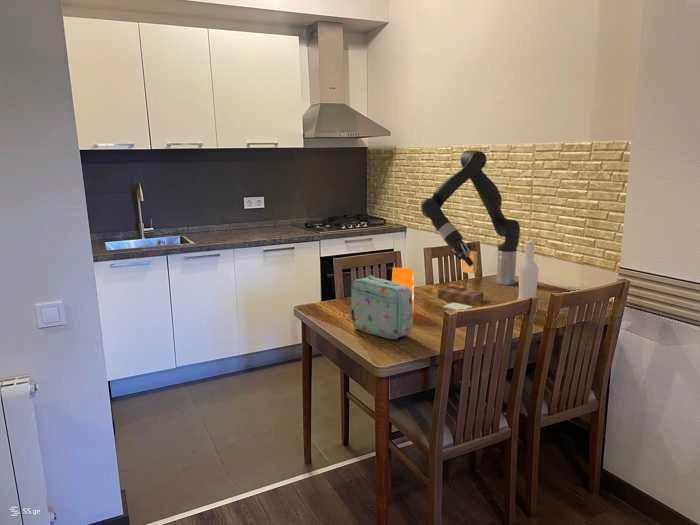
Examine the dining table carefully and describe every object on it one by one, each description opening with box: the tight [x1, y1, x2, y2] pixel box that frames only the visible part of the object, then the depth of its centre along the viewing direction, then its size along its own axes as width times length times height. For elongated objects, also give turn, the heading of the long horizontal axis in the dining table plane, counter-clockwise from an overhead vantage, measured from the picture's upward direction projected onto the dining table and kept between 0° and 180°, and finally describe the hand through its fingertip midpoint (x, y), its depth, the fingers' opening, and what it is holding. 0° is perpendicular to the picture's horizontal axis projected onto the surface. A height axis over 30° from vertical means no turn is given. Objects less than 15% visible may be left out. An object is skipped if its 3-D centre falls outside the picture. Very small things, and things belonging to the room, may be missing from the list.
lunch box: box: [349, 274, 414, 340], centre depth 189 cm, size 27×10×21 cm, turn 45°
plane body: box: [437, 282, 484, 306], centre depth 232 cm, size 18×10×6 cm, turn 47°
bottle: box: [517, 240, 539, 300], centre depth 212 cm, size 8×8×30 cm
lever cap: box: [461, 250, 478, 275], centre depth 222 cm, size 6×3×10 cm, turn 47°
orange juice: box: [391, 267, 415, 312], centre depth 212 cm, size 8×9×20 cm
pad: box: [442, 301, 474, 311], centre depth 220 cm, size 10×8×1 cm
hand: (473, 264), depth 221 cm, fingers closed on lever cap, 3 cm apart
